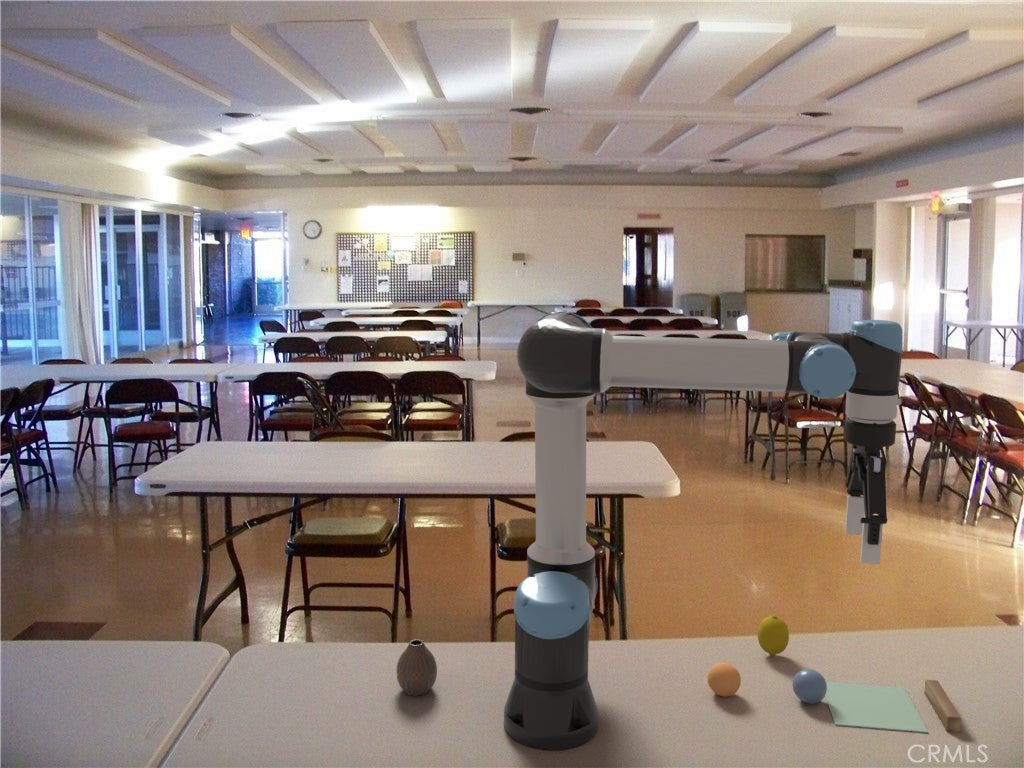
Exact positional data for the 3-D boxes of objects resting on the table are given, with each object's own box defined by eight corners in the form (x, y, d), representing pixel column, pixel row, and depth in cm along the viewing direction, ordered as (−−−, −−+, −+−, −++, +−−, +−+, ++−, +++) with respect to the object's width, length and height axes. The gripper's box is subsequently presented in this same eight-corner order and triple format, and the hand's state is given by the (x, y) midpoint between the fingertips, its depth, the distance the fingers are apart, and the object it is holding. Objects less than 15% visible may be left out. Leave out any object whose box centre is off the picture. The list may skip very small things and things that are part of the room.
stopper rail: (946, 731, 140) (947, 716, 140) (924, 693, 152) (925, 679, 152) (959, 732, 140) (961, 717, 140) (936, 694, 152) (937, 680, 151)
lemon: (789, 664, 162) (791, 622, 161) (757, 661, 164) (759, 620, 162) (786, 650, 168) (788, 610, 166) (755, 647, 169) (757, 608, 168)
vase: (411, 704, 148) (410, 655, 147) (389, 688, 154) (388, 641, 152) (445, 691, 153) (444, 643, 151) (422, 676, 158) (421, 629, 156)
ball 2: (794, 708, 147) (796, 677, 146) (789, 691, 153) (791, 661, 152) (828, 711, 146) (830, 680, 145) (822, 694, 152) (824, 664, 151)
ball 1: (707, 701, 149) (709, 670, 149) (706, 685, 155) (707, 655, 154) (741, 704, 149) (742, 673, 148) (738, 687, 154) (739, 658, 153)
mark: (835, 725, 142) (835, 724, 142) (819, 682, 156) (819, 681, 156) (928, 732, 140) (928, 731, 140) (904, 688, 154) (904, 687, 154)
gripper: (916, 437, 127) (904, 578, 130) (879, 405, 151) (870, 524, 155) (860, 434, 128) (850, 574, 132) (833, 403, 152) (825, 522, 156)
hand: (861, 548), depth 143 cm, fingers open, 13 cm apart
